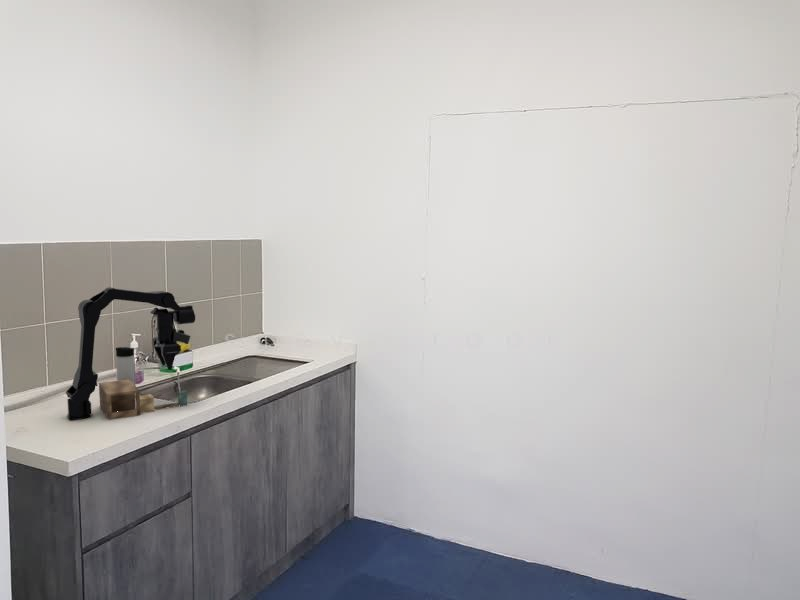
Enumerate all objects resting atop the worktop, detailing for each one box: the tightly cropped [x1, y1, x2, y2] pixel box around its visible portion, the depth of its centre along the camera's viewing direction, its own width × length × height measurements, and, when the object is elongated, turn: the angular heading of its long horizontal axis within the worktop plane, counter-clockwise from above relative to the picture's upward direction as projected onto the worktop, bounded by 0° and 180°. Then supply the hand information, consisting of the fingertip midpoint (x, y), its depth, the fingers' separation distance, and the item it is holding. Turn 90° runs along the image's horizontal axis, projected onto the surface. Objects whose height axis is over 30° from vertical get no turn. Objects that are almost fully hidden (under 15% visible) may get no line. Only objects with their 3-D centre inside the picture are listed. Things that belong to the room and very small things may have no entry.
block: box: [140, 390, 188, 414], centre depth 225 cm, size 17×5×5 cm, turn 124°
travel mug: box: [115, 346, 137, 399], centre depth 235 cm, size 6×7×20 cm
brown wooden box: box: [98, 379, 141, 420], centre depth 221 cm, size 10×18×9 cm, turn 33°
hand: (166, 367), depth 232 cm, fingers open, 9 cm apart
